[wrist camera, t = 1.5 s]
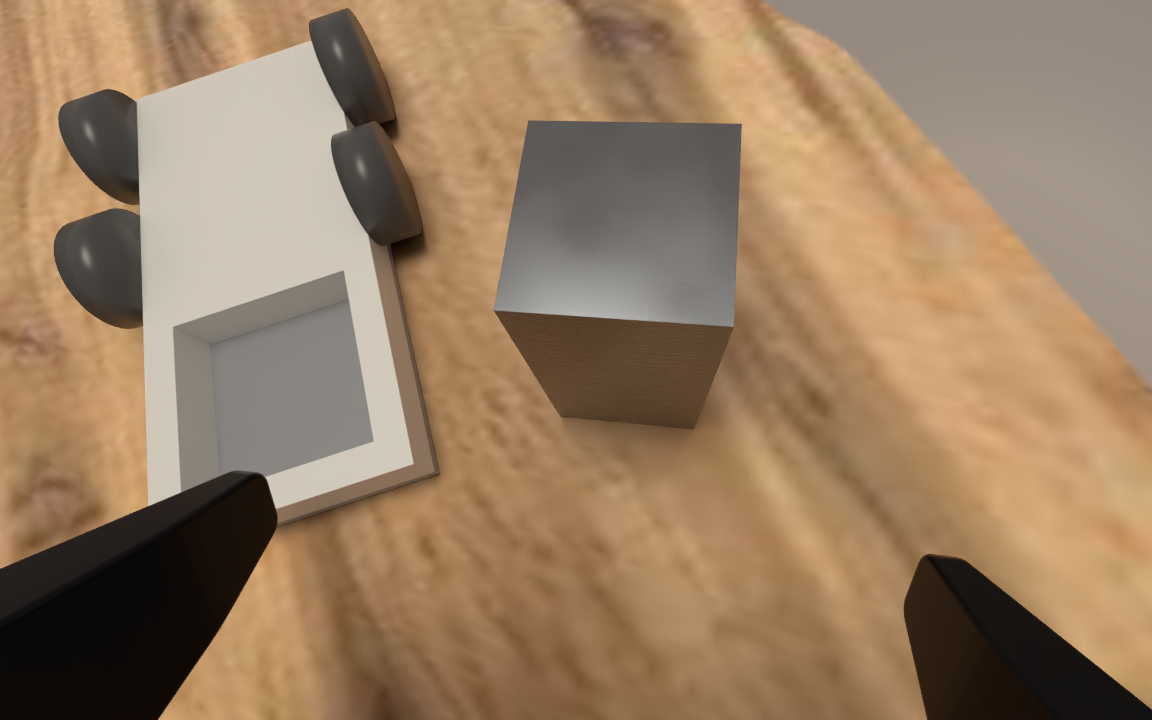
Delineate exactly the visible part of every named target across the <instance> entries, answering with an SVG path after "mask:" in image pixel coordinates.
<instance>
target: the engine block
mask: <svg viewBox="0 0 1152 720" xmlns="http://www.w3.org/2000/svg"><path fill="white" fill-rule="evenodd" d="M741 127H742V124H715V123H650V122H585V121H528V126H527V131H526V136H525V142H524V147H523V153H522V158H521V164H520V169H519V175H518V180H517V186H516V191H515V197H514V202H513V208H512V213H511V219H510V224H509V230H508V235H507V241H506V246H505V252H504V257H503V263H502V268H501V274H500V279H499V285H498V290H497V296H496V301H495V306H494V312H495V313H496V315H497V316H498V318H499V320H500V321H501V323H502V324H503V326H504V327H505V329H506V331H507V332H508V334H509V335H510V337H511V339H512V340H513V342H514V343H515V345H516V347H517V348H518V350H519V351H520V353H521V354H522V356H523V358H524V359H525V361H526V362H527V364H528V366H529V367H530V369H531V370H532V372H533V374H534V375H535V377H536V378H537V380H538V382H539V383H540V385H541V386H542V388H543V389H544V391H545V393H546V394H547V396H548V397H549V399H550V401H551V402H552V404H553V405H554V407H555V409H556V410H557V412H558V413H559V415H560V416H561V417H571V418H581V419H591V420H602V421H612V422H623V423H633V424H644V425H654V426H665V427H675V428H686V429H694V428H695V425H696V423H697V420H698V418H699V415H700V413H701V410H702V407H703V405H704V402H705V400H706V397H707V394H708V392H709V389H710V387H711V384H712V382H713V379H714V376H715V374H716V371H717V369H718V366H719V364H720V361H721V358H722V356H723V353H724V351H725V348H726V345H727V343H728V340H729V338H730V335H731V333H732V330H733V327H734V308H735V282H736V256H737V231H738V205H739V179H740V153H741Z"/></svg>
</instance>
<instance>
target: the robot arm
mask: <svg viewBox="0 0 1152 720" xmlns="http://www.w3.org/2000/svg"><path fill="white" fill-rule="evenodd" d="M277 522H278V515H277V511H276V507H275V504H274V501H273V498H272V494H271V491H270V488H269V484H268V481H267V479H266V478H265V476H264V475H263V474H260V473H258V472H251V471H242V470H235V471H231V472H228V473H225V474H223V475H221V476H218V477H216V478H214V479H211V480H209V481H207V482H204V483H202V484H200V485H197V486H195V487H192V488H190V489H188V490H185V491H183V492H181V493H178V494H176V495H174V496H171V497H169V498H166V499H164V500H162V501H159V502H157V503H155V504H152V505H150V506H148V507H145V508H143V509H141V510H138V511H136V512H133V513H131V514H129V515H126V516H124V517H122V518H119V519H117V520H115V521H112V522H110V523H107V524H105V525H103V526H100V527H98V528H96V529H93V530H91V531H89V532H86V533H84V534H82V535H79V536H77V537H74V538H72V539H70V540H67V541H65V542H63V543H60V544H58V545H56V546H53V547H51V548H48V549H46V550H44V551H41V552H39V553H37V554H34V555H32V556H30V557H27V558H25V559H22V560H20V561H18V562H15V563H13V564H11V565H8V566H6V567H4V568H1V569H0V720H158V719H159V717H160V716H161V715H162V713H163V712H164V710H165V709H166V707H167V706H168V704H169V703H170V701H171V700H172V699H173V697H174V696H175V694H176V693H177V691H178V690H179V688H180V687H181V685H182V684H183V682H184V681H185V680H186V678H187V677H188V675H189V674H190V672H191V671H192V669H193V668H194V666H195V665H196V664H197V662H198V661H199V659H200V658H201V656H202V655H203V653H204V652H205V650H206V649H207V648H208V646H209V645H210V643H211V642H212V640H213V638H214V637H215V635H216V634H217V632H218V631H219V629H220V628H221V626H222V624H223V623H224V621H225V619H226V618H227V616H228V614H229V613H230V611H231V609H232V607H233V606H234V604H235V602H236V600H237V598H238V597H239V595H240V593H241V591H242V590H243V588H244V586H245V584H246V582H247V581H248V579H249V577H250V575H251V574H252V572H253V570H254V568H255V566H256V565H257V563H258V561H259V559H260V558H261V556H262V554H263V552H264V550H265V549H266V547H267V545H268V543H269V542H270V540H271V538H272V536H273V535H274V532H275V530H276V527H277ZM904 618H905V623H906V628H907V632H908V637H909V641H910V645H911V650H912V654H913V659H914V663H915V667H916V672H917V676H918V681H919V685H920V689H921V694H922V698H923V703H924V707H925V711H926V716H927V720H1152V709H1150V708H1149V707H1148V706H1147V705H1145V704H1144V703H1143V702H1142V701H1140V700H1139V699H1138V698H1137V697H1135V696H1134V695H1133V694H1132V693H1130V692H1129V691H1128V690H1127V689H1125V688H1124V687H1123V686H1122V685H1120V684H1119V683H1118V682H1117V681H1115V680H1114V679H1113V678H1112V677H1110V676H1109V675H1108V674H1107V673H1105V672H1104V671H1103V670H1102V669H1100V668H1099V667H1098V666H1097V665H1095V664H1094V663H1093V662H1092V661H1090V660H1089V659H1088V658H1087V657H1085V656H1084V655H1083V654H1082V653H1080V652H1079V651H1078V650H1077V649H1076V648H1074V647H1073V646H1072V645H1071V644H1069V643H1068V642H1067V641H1066V640H1064V639H1063V638H1062V637H1061V636H1059V635H1058V634H1057V633H1056V632H1054V631H1053V630H1052V629H1051V628H1049V627H1048V626H1047V625H1046V624H1044V623H1043V622H1042V621H1041V620H1039V619H1038V618H1037V617H1036V616H1034V615H1033V614H1032V613H1031V612H1029V611H1028V610H1027V609H1026V608H1024V607H1023V606H1022V605H1021V604H1019V603H1018V602H1017V601H1016V600H1014V599H1013V598H1012V597H1011V596H1009V595H1008V594H1007V593H1006V592H1004V591H1003V590H1002V589H1001V588H999V587H998V586H997V585H996V584H994V583H993V582H992V581H991V580H989V579H988V578H987V577H986V576H984V575H983V574H982V573H981V572H979V571H978V570H977V569H976V568H974V567H973V566H972V565H971V564H969V563H968V562H967V561H965V560H963V559H961V558H958V557H952V556H944V555H935V554H927V555H924V556H923V557H922V558H921V559H920V561H919V563H918V566H917V568H916V571H915V574H914V576H913V579H912V581H911V584H910V587H909V589H908V592H907V595H906V597H905V601H904Z"/></svg>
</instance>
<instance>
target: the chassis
mask: <svg viewBox="0 0 1152 720" xmlns="http://www.w3.org/2000/svg"><path fill="white" fill-rule="evenodd" d="M309 31H310V37H311V41H309V42H306V43H303V44H300V45H297V46H294V47H291V48H288V49H285V50H282V51H279V52H276V53H273V54H270V55H267V56H264V57H261V58H258V59H255V60H252V61H249V62H246V63H243V64H240V65H237V66H234V67H231V68H228V69H225V70H223V71H220V72H217V73H214V74H211V75H208V76H205V77H202V78H199V79H196V80H193V81H190V82H187V83H184V84H181V85H178V86H175V87H172V88H169V89H166V90H163V91H160V92H157V93H154V94H151V95H148V96H145V97H142V98H139V99H137V103H136V102H135V101H134V100H133V99H131V98H130V97H128V96H126V95H125V94H123V93H121V92H119V91H115V90H111V89H106V90H102V91H99V92H96V93H93V94H90V95H87V96H84V97H81V98H78V99H76V100H73V101H70V102H67V103H65V104H64V105H63V106H62V107H61V109H60V111H59V117H58V120H59V128H60V132H61V135H62V138H63V140H64V143H65V145H66V147H67V149H68V151H69V152H70V154H71V156H72V157H73V159H74V160H75V162H76V163H77V165H78V166H79V167H80V169H81V170H82V171H83V172H84V173H85V174H86V176H87V177H88V178H89V179H90V180H91V181H92V182H93V183H94V184H95V185H96V186H98V187H99V188H100V189H101V190H102V191H104V192H105V193H106V194H108V195H109V196H111V197H113V198H114V199H116V200H118V201H120V202H123V203H126V204H130V205H138V204H140V216H139V215H137V214H135V213H133V212H131V211H128V210H124V209H109V210H106V211H103V212H100V213H97V214H94V215H91V216H88V217H85V218H82V219H79V220H76V221H73V222H71V223H68V224H66V225H64V226H63V227H62V228H61V229H60V230H59V231H58V233H57V235H56V238H55V241H54V257H55V262H56V265H57V268H58V271H59V273H60V276H61V278H62V280H63V281H64V283H65V285H66V287H67V288H68V290H69V291H70V292H71V294H72V295H73V296H74V297H75V299H76V300H77V301H78V302H79V303H80V304H81V305H82V306H83V307H84V308H85V309H86V310H87V311H88V312H90V313H91V314H92V315H94V316H95V317H97V318H98V319H100V320H101V321H103V322H105V323H107V324H109V325H112V326H115V327H119V328H125V329H133V328H138V327H141V326H143V334H144V369H145V404H146V438H147V473H148V506H150V505H152V504H155V503H157V502H159V501H162V500H164V499H166V498H169V497H171V496H174V495H176V494H178V493H181V492H183V491H185V490H188V489H190V488H192V487H195V486H197V485H200V484H202V483H204V482H207V481H209V480H211V479H214V478H216V477H218V476H221V475H223V474H225V473H228V472H231V471H235V470H242V471H251V472H258V473H260V474H263V475H264V476H265V478H266V479H267V481H268V484H269V488H270V491H271V494H272V498H273V501H274V504H275V507H276V511H277V515H278V522H277V527H278V526H281V525H284V524H288V523H291V522H294V521H297V520H300V519H303V518H306V517H309V516H312V515H315V514H318V513H321V512H324V511H327V510H330V509H333V508H336V507H340V506H343V505H346V504H349V503H352V502H355V501H358V500H361V499H364V498H367V497H370V496H373V495H376V494H379V493H382V492H385V491H389V490H392V489H395V488H398V487H401V486H404V485H407V484H410V483H413V482H416V481H419V480H422V479H425V478H428V477H431V476H434V475H438V474H439V470H438V465H437V461H436V456H435V451H434V447H433V442H432V437H431V433H430V428H429V423H428V418H427V414H426V409H425V404H424V400H423V395H422V390H421V386H420V381H419V376H418V372H417V367H416V362H415V358H414V353H413V348H412V344H411V339H410V334H409V330H408V325H407V320H406V316H405V311H404V306H403V301H402V297H401V292H400V287H399V283H398V278H397V273H396V269H395V264H394V259H393V255H392V250H391V245H390V244H391V243H394V242H397V241H400V240H403V239H406V238H409V237H412V236H415V235H418V234H420V233H421V231H422V222H421V216H420V212H419V208H418V204H417V201H416V198H415V194H414V192H413V189H412V186H411V183H410V181H409V178H408V176H407V173H406V171H405V168H404V166H403V164H402V162H401V160H400V158H399V155H398V153H397V151H396V149H395V148H394V146H393V144H392V142H391V140H390V139H389V137H388V135H387V134H386V132H385V131H384V130H383V128H382V127H381V126H380V125H379V124H381V123H384V122H387V121H390V120H393V119H395V108H394V104H393V100H392V97H391V93H390V90H389V87H388V84H387V82H386V79H385V76H384V74H383V71H382V69H381V66H380V64H379V61H378V59H377V57H376V54H375V52H374V50H373V48H372V46H371V44H370V42H369V40H368V38H367V36H366V34H365V32H364V30H363V28H362V26H361V25H360V23H359V21H358V20H357V18H356V17H355V15H354V14H353V12H352V11H351V10H350V9H348V8H346V9H343V10H340V11H337V12H334V13H331V14H328V15H325V16H322V17H319V18H316V19H313V20H310V22H309Z"/></svg>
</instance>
